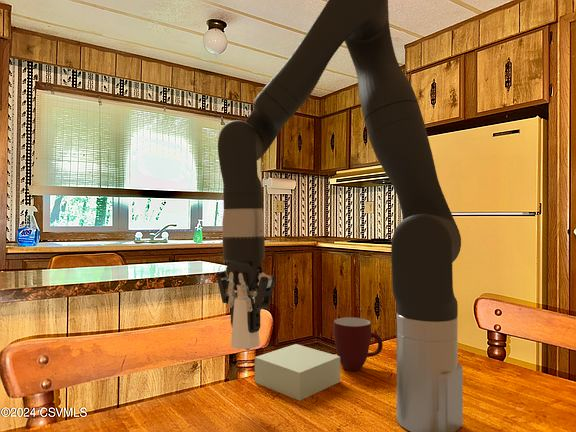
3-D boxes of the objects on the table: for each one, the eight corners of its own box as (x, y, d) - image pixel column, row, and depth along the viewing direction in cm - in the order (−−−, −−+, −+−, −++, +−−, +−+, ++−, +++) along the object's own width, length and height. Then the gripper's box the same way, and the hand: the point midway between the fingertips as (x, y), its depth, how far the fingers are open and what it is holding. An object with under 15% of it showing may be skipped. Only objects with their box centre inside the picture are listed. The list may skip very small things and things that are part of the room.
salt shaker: (234, 351, 73) (233, 286, 73) (227, 343, 78) (225, 282, 78) (264, 347, 75) (263, 284, 75) (255, 339, 80) (254, 280, 80)
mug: (375, 360, 97) (375, 316, 97) (387, 373, 89) (387, 325, 89) (329, 362, 95) (329, 317, 95) (338, 375, 87) (338, 327, 87)
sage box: (340, 381, 84) (340, 356, 84) (299, 400, 75) (299, 372, 75) (295, 366, 92) (295, 343, 92) (254, 382, 84) (254, 357, 84)
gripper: (286, 234, 74) (288, 332, 74) (234, 233, 84) (235, 320, 84) (254, 235, 69) (256, 341, 69) (203, 234, 79) (204, 327, 78)
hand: (245, 329), depth 76 cm, fingers closed on salt shaker, 4 cm apart
